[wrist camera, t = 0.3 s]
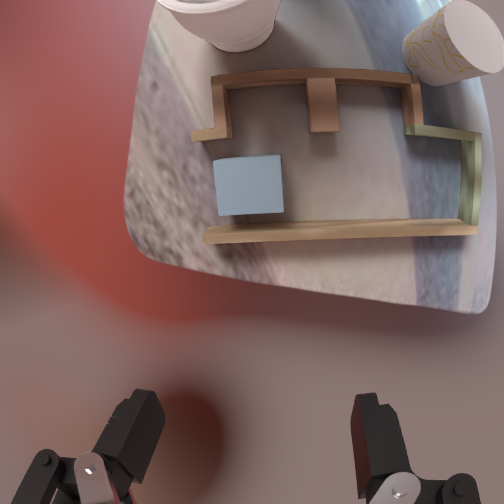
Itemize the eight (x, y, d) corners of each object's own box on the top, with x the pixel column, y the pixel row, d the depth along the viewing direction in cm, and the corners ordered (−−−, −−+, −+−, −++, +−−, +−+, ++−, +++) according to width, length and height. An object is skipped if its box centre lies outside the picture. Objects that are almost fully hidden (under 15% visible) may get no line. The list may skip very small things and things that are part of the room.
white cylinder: (393, 29, 26) (431, -6, 14) (443, 32, 24) (490, 6, 13) (411, 87, 28) (459, 70, 17) (460, 86, 27) (514, 76, 16)
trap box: (195, 86, 31) (186, 81, 28) (463, 90, 27) (477, 87, 23) (211, 235, 38) (204, 244, 35) (463, 226, 33) (476, 234, 30)
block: (222, 158, 35) (212, 161, 30) (280, 153, 34) (280, 155, 29) (227, 206, 37) (218, 215, 32) (284, 202, 36) (283, 212, 31)
